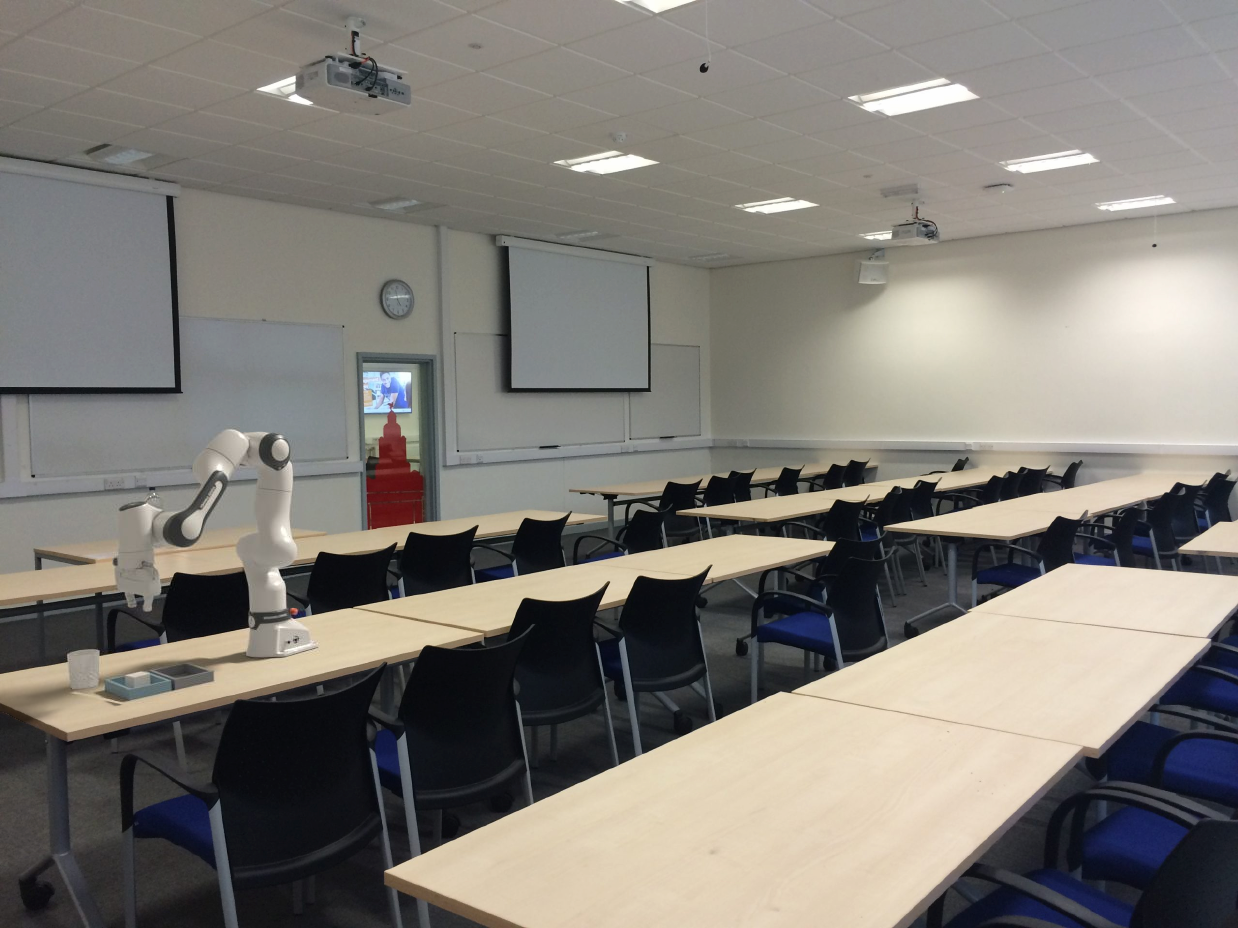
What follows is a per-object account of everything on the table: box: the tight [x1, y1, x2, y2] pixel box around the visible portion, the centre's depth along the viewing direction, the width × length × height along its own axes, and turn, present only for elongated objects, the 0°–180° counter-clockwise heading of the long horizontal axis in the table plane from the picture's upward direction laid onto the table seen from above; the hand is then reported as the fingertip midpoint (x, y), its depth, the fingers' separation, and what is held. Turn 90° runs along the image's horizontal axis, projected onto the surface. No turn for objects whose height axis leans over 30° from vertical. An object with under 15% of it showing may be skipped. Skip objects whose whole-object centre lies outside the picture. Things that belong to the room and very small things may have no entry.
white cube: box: [124, 671, 150, 689], centre depth 253 cm, size 4×4×4 cm
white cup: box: [66, 648, 100, 690], centre depth 259 cm, size 8×8×10 cm
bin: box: [104, 670, 173, 702], centre depth 253 cm, size 11×16×4 cm
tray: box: [148, 662, 215, 691], centre depth 262 cm, size 11×16×4 cm
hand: (139, 608), depth 257 cm, fingers open, 8 cm apart
